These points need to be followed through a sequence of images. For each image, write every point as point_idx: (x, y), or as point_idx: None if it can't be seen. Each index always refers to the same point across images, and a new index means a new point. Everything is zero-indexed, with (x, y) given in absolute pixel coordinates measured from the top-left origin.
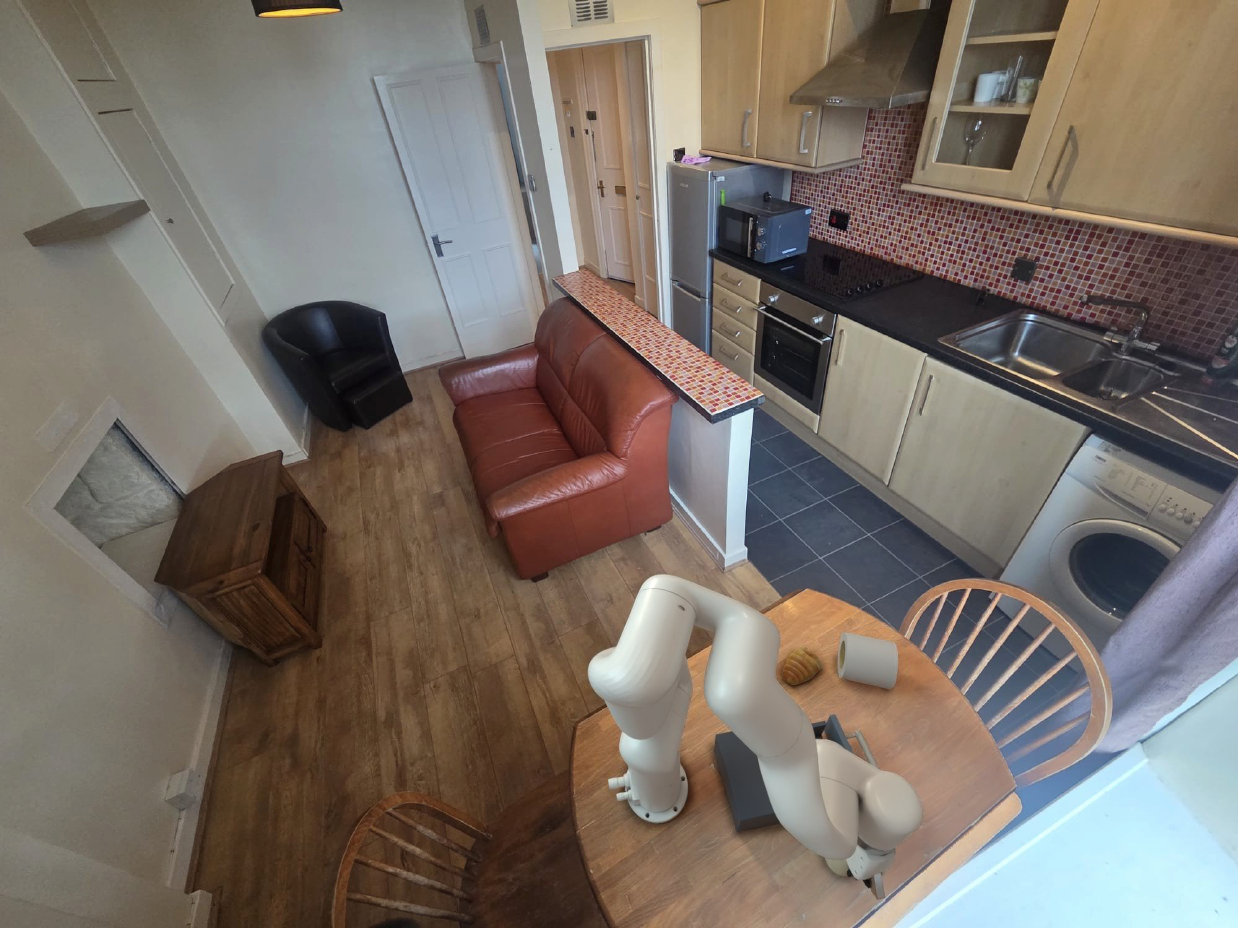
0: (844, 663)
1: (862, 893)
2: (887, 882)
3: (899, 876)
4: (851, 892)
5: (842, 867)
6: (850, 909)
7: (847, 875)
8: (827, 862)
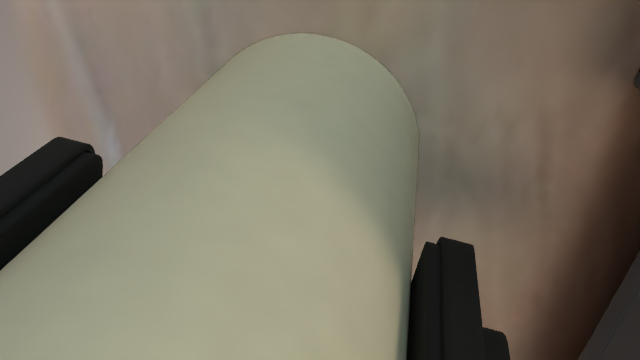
0: None
1: (103, 134)
2: None
3: None
4: (121, 77)
5: (144, 138)
6: (45, 9)
7: (59, 141)
8: (303, 39)
